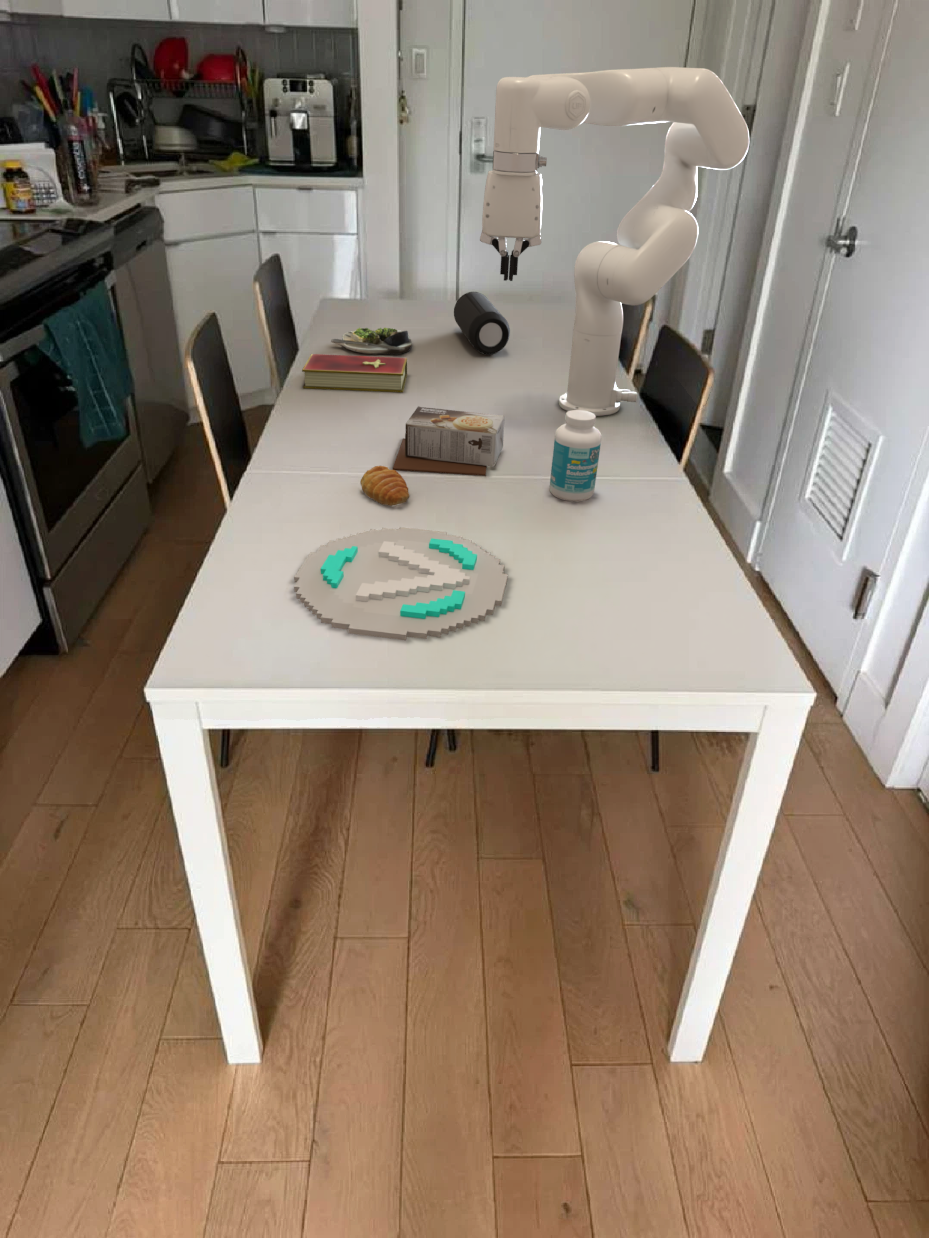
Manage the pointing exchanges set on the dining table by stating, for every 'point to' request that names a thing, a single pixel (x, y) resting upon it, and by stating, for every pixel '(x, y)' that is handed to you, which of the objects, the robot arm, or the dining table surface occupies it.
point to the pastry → (385, 486)
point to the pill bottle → (575, 457)
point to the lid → (401, 583)
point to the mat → (434, 465)
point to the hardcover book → (355, 373)
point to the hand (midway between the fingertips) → (508, 279)
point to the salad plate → (376, 341)
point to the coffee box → (454, 436)
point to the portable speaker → (481, 323)
